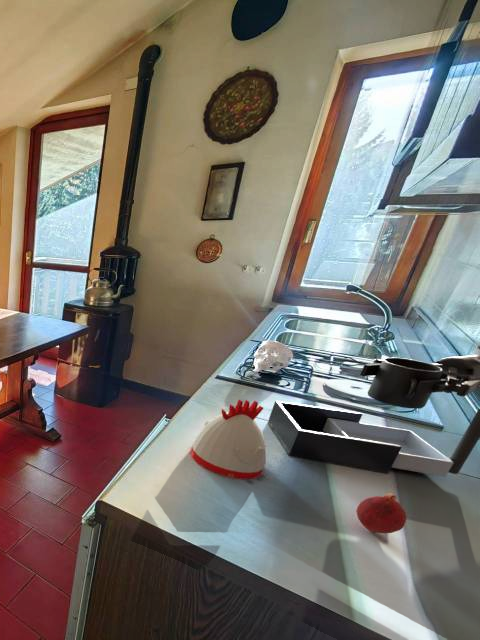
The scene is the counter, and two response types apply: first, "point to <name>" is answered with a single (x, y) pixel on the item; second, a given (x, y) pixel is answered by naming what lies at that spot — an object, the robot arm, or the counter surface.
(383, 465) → the black open box
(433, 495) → the counter surface
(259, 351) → the pale pink rounded lump
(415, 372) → the mug
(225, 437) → the kitchen timer
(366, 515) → the onion
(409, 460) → the white boxy piece
